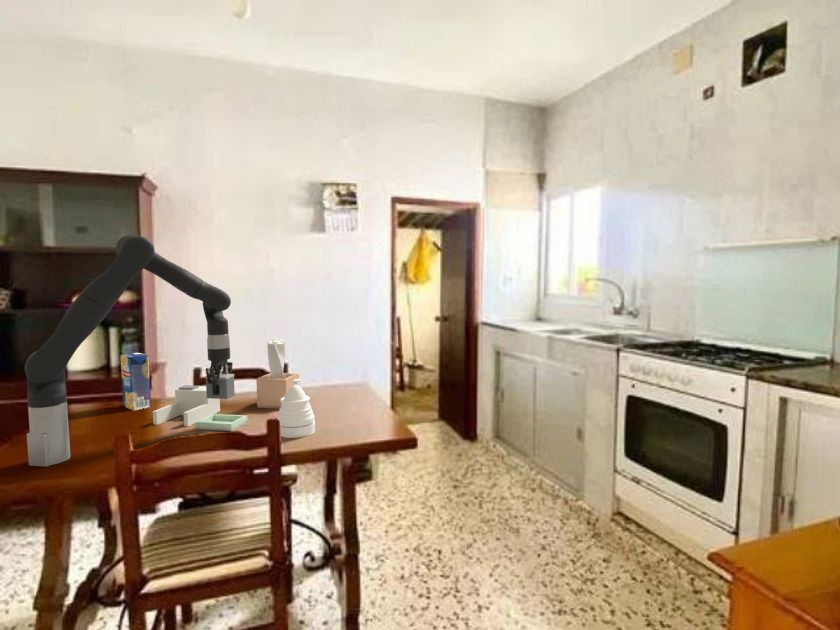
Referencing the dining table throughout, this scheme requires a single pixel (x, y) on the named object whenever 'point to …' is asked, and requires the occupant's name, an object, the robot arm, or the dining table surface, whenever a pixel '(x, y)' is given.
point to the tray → (221, 422)
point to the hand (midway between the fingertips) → (220, 392)
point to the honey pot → (296, 413)
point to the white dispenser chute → (188, 406)
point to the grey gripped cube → (222, 387)
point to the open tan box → (273, 390)
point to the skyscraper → (276, 358)
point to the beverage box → (135, 381)
